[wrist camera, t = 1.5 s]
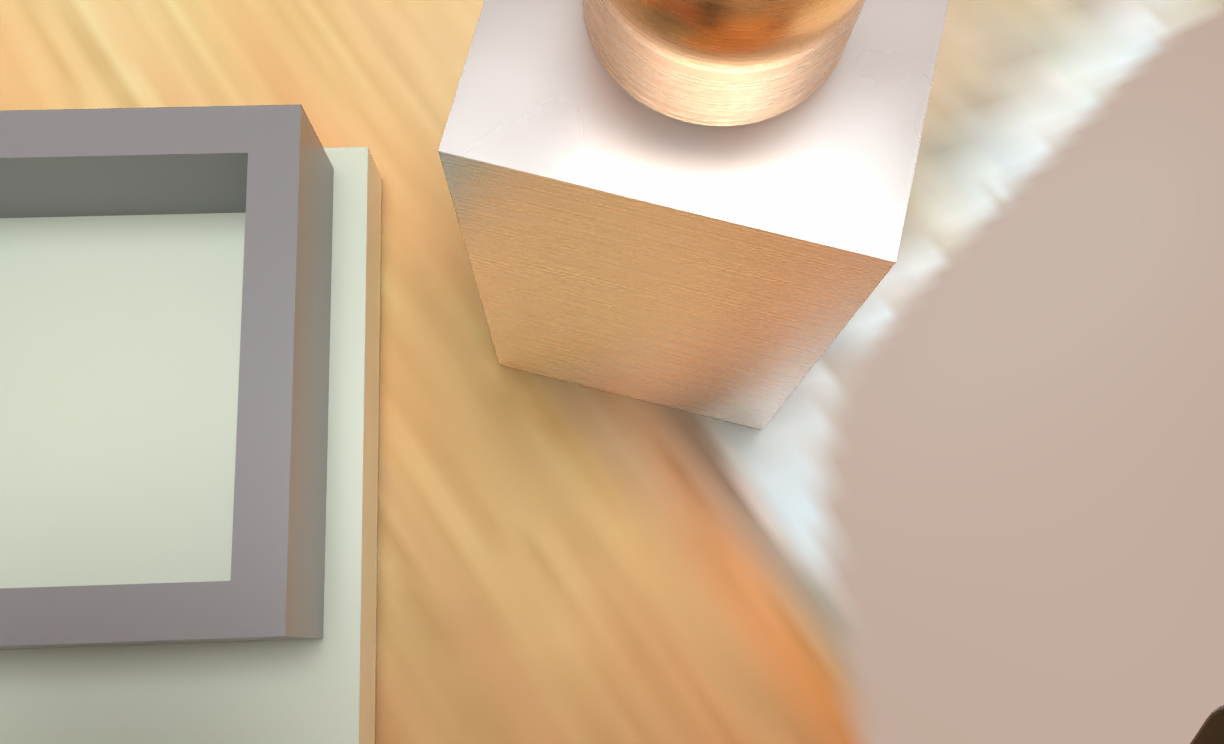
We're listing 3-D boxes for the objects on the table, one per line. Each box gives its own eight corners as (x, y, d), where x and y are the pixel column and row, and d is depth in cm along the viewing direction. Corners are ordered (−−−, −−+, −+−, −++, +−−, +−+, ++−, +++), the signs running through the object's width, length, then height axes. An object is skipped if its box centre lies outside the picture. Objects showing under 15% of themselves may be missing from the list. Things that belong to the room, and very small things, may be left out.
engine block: (761, 430, 22) (991, 141, 9) (499, 364, 22) (394, -3, 10) (816, 184, 23) (1084, -354, 11) (567, 124, 23) (548, -475, 11)
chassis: (369, 1182, 19) (283, 1396, 13) (-238, 1212, 18) (-579, 1443, 13) (381, 179, 23) (319, 32, 17) (-117, 191, 22) (-338, 44, 17)
